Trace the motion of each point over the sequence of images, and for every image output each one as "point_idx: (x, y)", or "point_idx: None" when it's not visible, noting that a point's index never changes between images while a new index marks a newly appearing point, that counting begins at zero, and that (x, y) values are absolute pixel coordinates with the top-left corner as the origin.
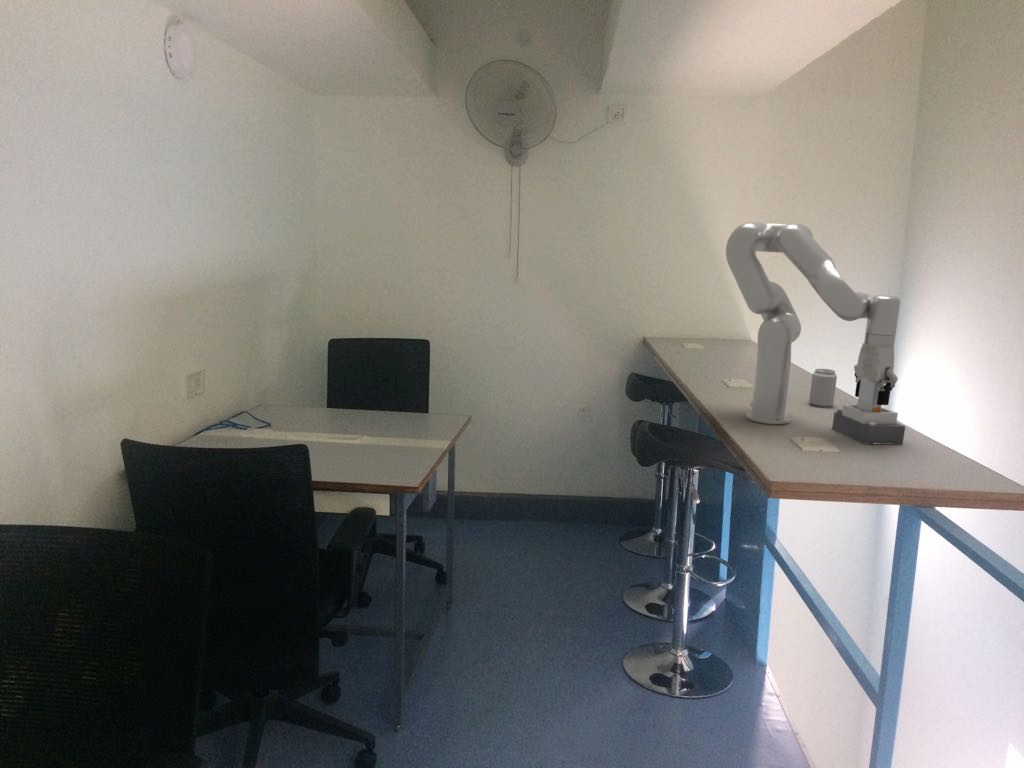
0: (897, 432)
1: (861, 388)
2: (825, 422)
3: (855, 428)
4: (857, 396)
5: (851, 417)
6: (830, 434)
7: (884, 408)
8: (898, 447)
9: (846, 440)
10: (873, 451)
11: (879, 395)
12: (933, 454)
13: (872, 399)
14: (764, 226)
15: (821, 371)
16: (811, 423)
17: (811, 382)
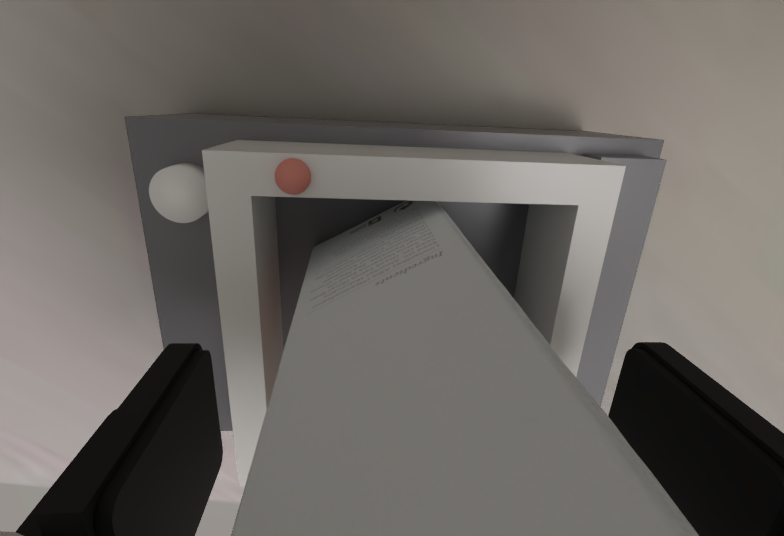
0: None
1: (492, 347)
2: (723, 193)
3: (328, 122)
4: (628, 355)
5: (430, 149)
6: (461, 8)
7: None
8: (141, 289)
9: (297, 27)
10: (6, 40)
11: (102, 438)
12: (15, 390)
13: (283, 357)
14: None
15: None
16: (742, 66)
17: None
